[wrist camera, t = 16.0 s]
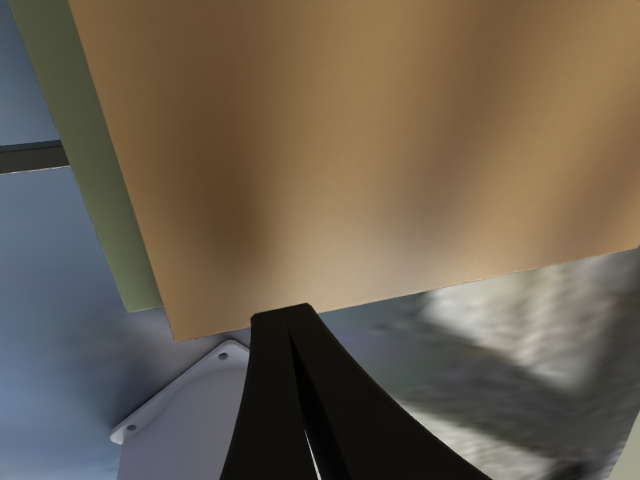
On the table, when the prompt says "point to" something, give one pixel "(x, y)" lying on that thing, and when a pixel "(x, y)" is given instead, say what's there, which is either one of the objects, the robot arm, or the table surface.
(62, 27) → the drawer
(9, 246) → the table surface
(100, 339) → the table surface
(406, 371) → the table surface
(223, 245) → the cabinet
